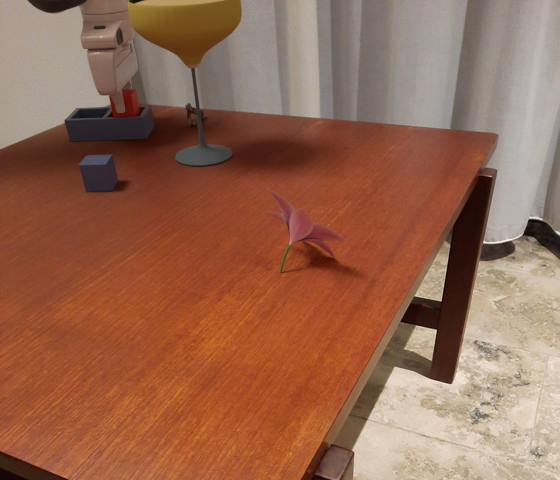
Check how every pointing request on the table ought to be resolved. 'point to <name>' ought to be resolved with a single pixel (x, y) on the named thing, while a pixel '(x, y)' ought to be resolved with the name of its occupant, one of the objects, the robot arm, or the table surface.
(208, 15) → the cocktail glass
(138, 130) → the tray
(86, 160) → the blue block
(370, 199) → the table surface
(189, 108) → the brown lumpy upright piece
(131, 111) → the red block
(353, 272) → the table surface
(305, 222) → the lily
